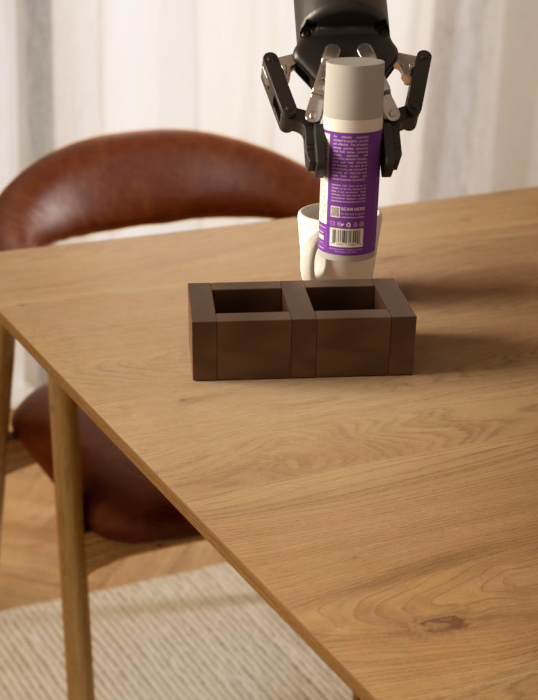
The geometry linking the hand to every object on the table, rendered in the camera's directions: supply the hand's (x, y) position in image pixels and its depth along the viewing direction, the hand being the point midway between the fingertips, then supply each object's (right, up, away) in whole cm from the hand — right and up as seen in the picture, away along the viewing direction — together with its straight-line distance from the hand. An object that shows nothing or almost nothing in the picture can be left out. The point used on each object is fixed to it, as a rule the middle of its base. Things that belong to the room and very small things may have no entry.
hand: (354, 171), depth 92 cm
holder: (-4, -13, +9) cm, 16 cm away
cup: (0, -6, +22) cm, 23 cm away
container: (0, -6, +5) cm, 8 cm away
